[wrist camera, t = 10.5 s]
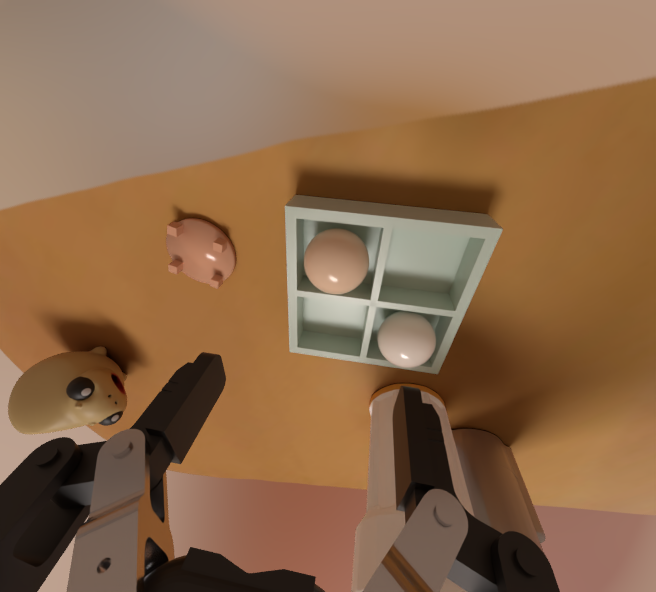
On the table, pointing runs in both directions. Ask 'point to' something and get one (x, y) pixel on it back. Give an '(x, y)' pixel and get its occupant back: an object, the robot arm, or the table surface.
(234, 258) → the egg cup
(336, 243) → the brown egg
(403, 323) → the cream egg
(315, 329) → the egg tray
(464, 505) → the cup
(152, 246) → the table surface
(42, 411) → the yellow toy animal head
